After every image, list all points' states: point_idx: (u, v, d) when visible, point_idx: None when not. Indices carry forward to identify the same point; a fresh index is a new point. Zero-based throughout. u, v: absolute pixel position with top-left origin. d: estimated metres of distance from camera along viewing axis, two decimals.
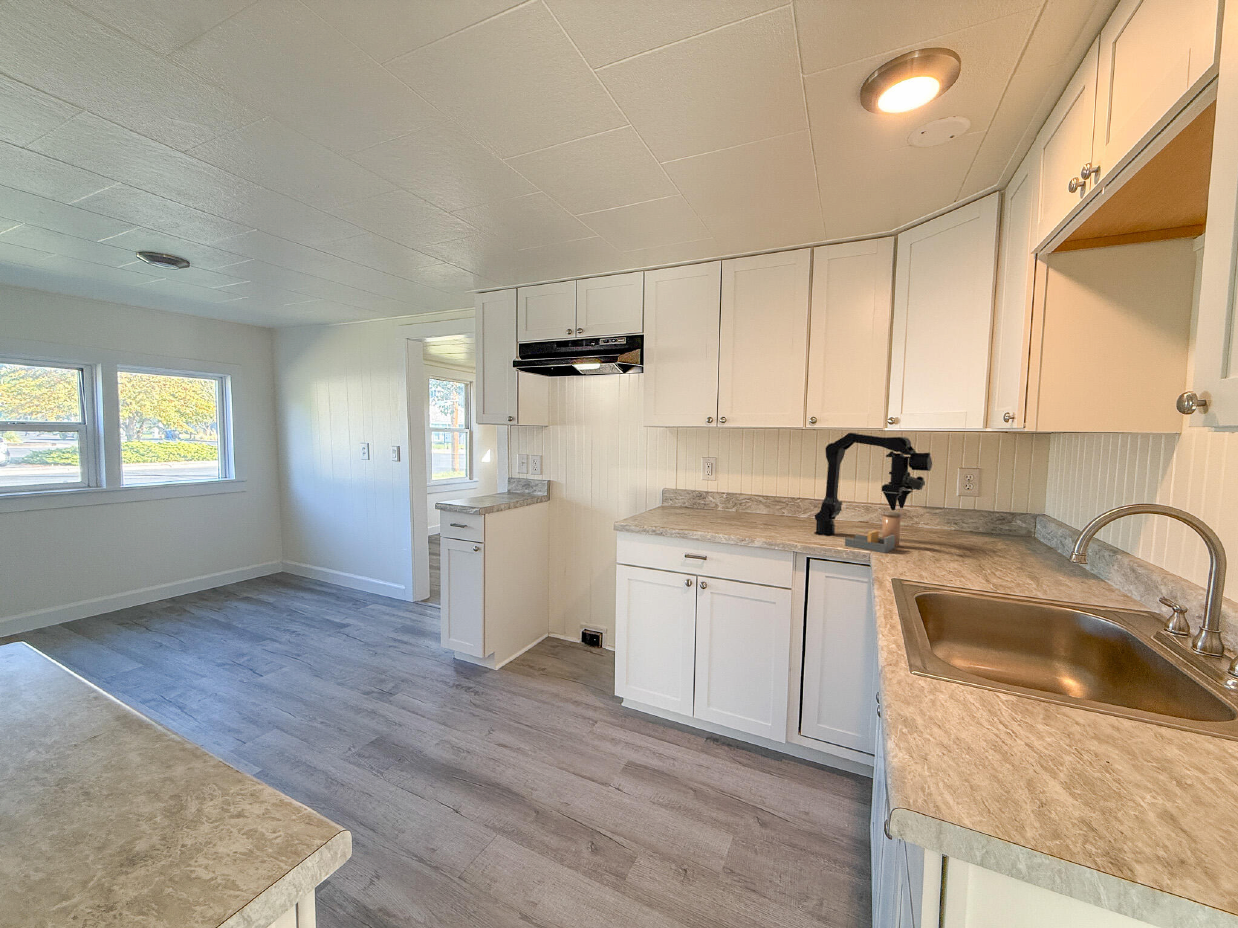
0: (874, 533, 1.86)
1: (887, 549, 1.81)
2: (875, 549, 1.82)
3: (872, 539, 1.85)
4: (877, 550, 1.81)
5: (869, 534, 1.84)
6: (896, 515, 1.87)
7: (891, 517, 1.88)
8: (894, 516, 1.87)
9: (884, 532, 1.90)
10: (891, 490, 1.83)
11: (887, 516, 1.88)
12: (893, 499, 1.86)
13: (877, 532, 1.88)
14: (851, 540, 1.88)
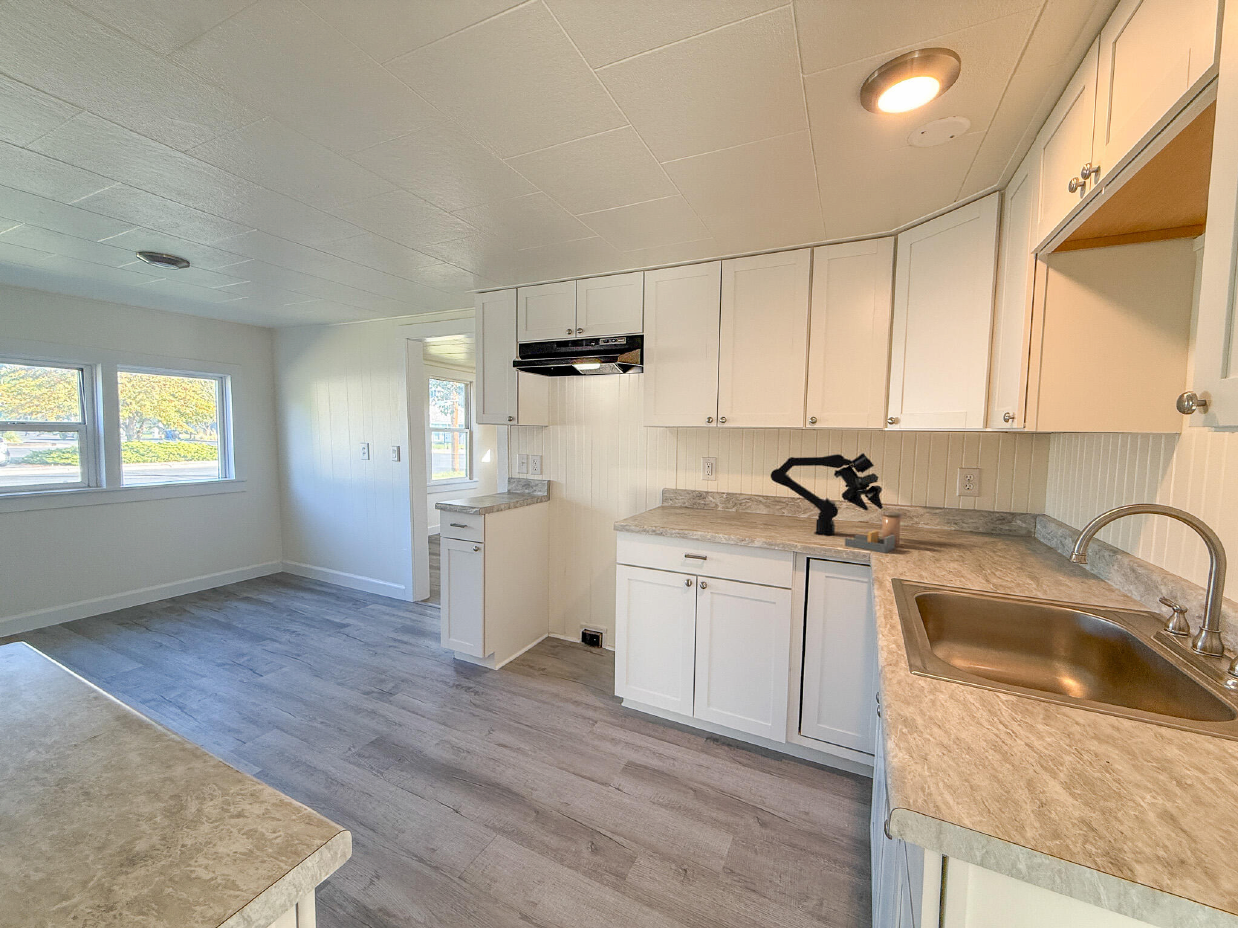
0: (874, 533, 1.86)
1: (887, 549, 1.81)
2: (875, 549, 1.82)
3: (872, 539, 1.85)
4: (877, 550, 1.81)
5: (869, 534, 1.84)
6: (896, 515, 1.87)
7: (891, 517, 1.88)
8: (894, 516, 1.87)
9: (884, 532, 1.90)
10: (848, 493, 1.96)
11: (887, 516, 1.88)
12: (859, 501, 1.96)
13: (877, 532, 1.88)
14: (851, 540, 1.88)
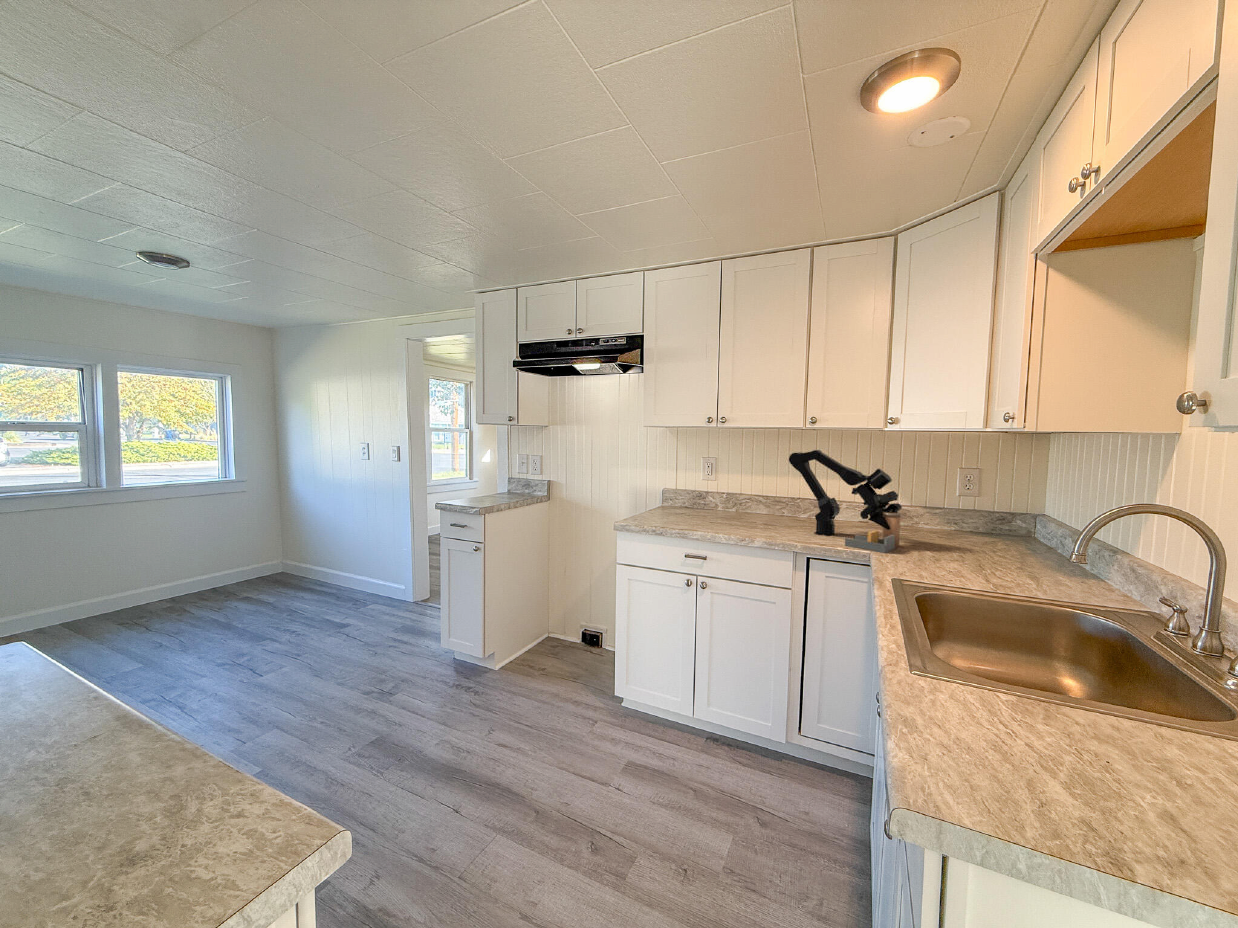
0: (874, 533, 1.86)
1: (887, 549, 1.81)
2: (875, 549, 1.82)
3: (872, 539, 1.85)
4: (877, 550, 1.81)
5: (869, 534, 1.84)
6: (896, 515, 1.87)
7: (891, 517, 1.88)
8: (894, 516, 1.87)
9: (884, 532, 1.90)
10: (867, 512, 1.89)
11: (887, 516, 1.88)
12: (881, 519, 1.89)
13: (877, 532, 1.88)
14: (851, 540, 1.88)
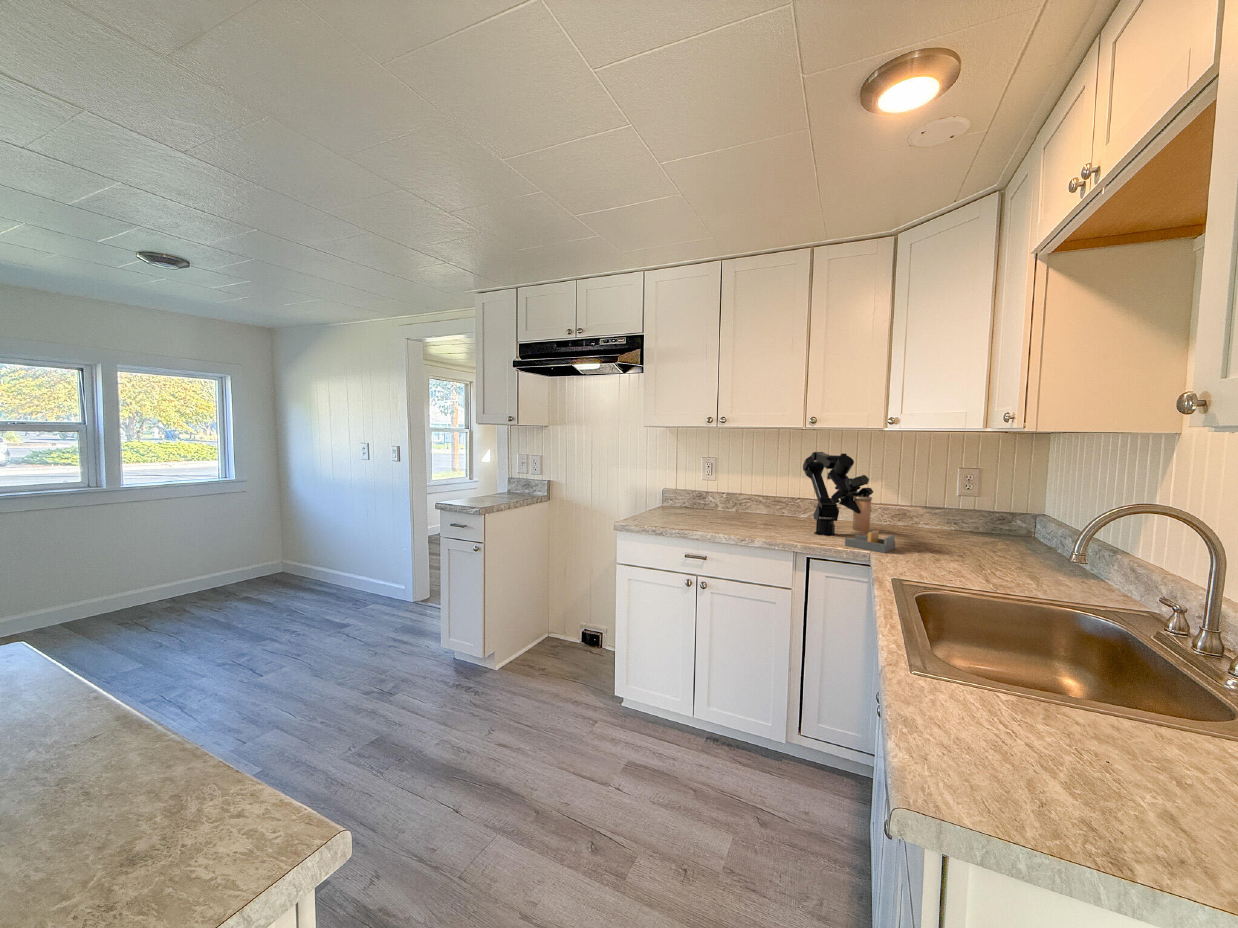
0: (874, 533, 1.86)
1: (887, 549, 1.81)
2: (875, 549, 1.82)
3: (872, 539, 1.85)
4: (877, 550, 1.81)
5: (869, 534, 1.84)
6: (866, 499, 1.86)
7: (862, 501, 1.87)
8: (864, 500, 1.86)
9: (855, 516, 1.89)
10: (837, 496, 1.88)
11: (858, 500, 1.88)
12: (851, 503, 1.89)
13: (877, 532, 1.88)
14: (851, 540, 1.88)
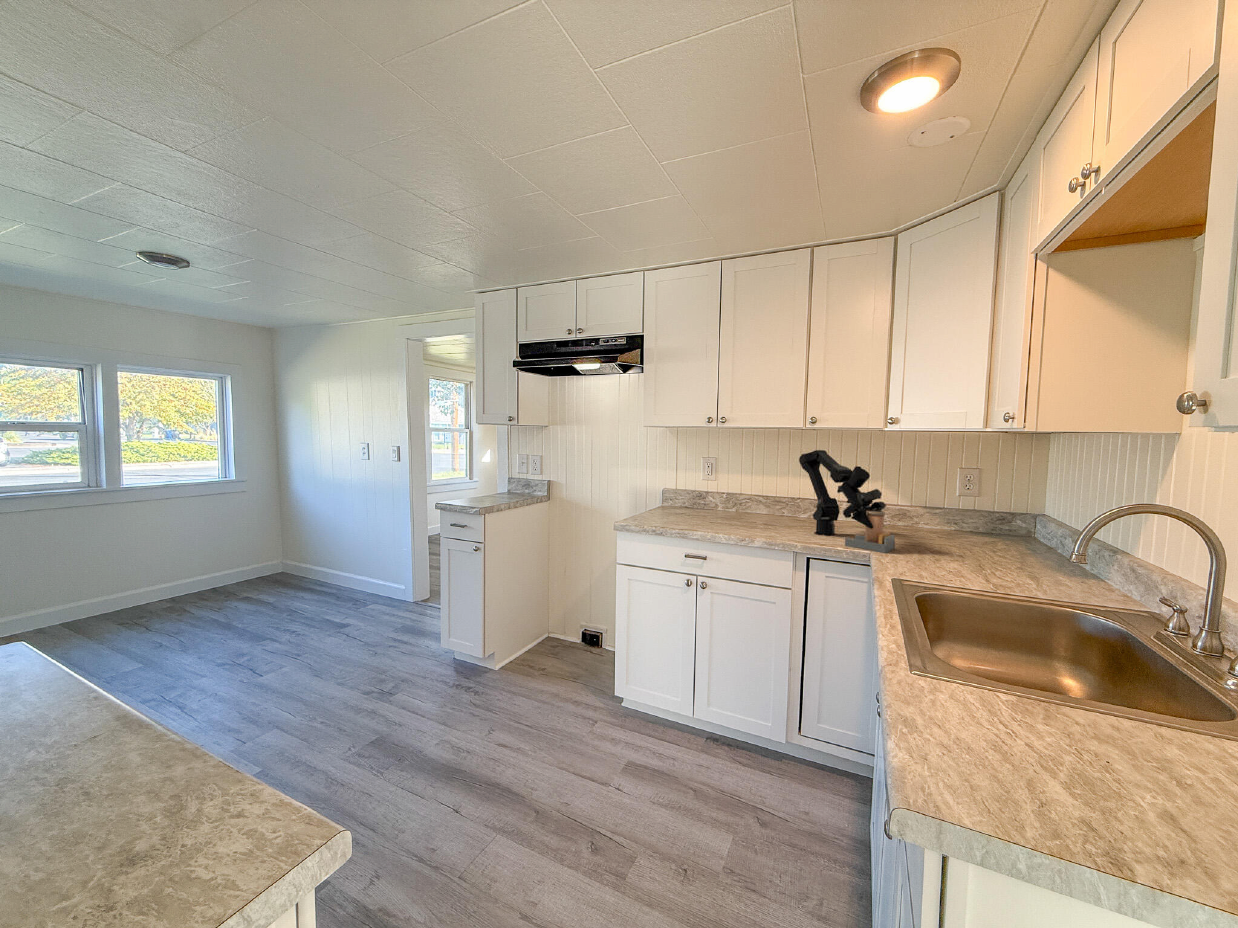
0: (885, 534, 1.83)
1: (887, 549, 1.81)
2: (875, 549, 1.82)
3: (883, 540, 1.82)
4: (877, 550, 1.81)
5: (880, 536, 1.81)
6: (879, 514, 1.83)
7: (874, 516, 1.83)
8: (877, 515, 1.83)
9: (867, 531, 1.86)
10: (850, 510, 1.85)
11: (870, 515, 1.84)
12: (864, 518, 1.85)
13: (888, 534, 1.85)
14: (851, 540, 1.88)
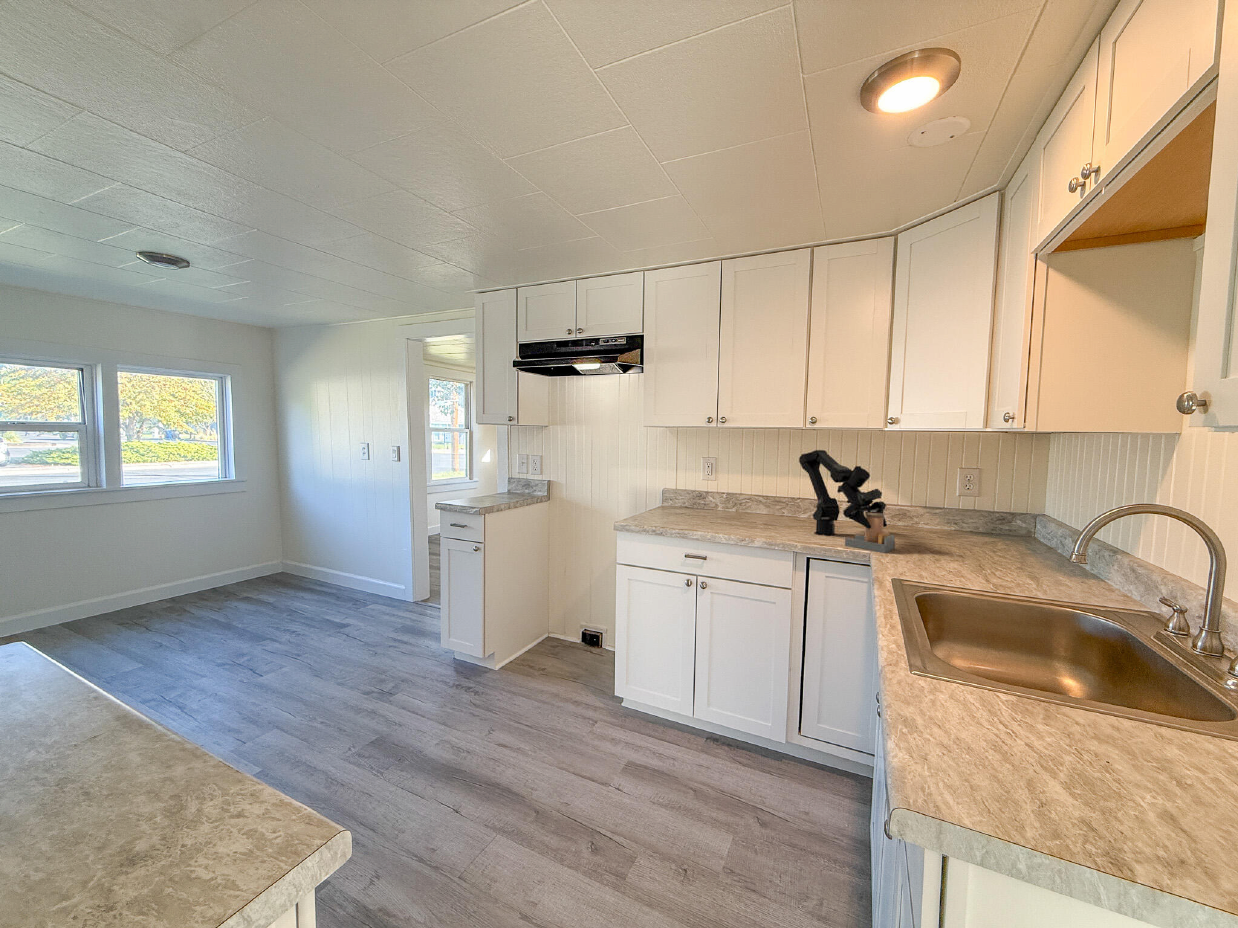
0: (885, 534, 1.83)
1: (887, 549, 1.81)
2: (875, 549, 1.82)
3: (883, 540, 1.82)
4: (877, 550, 1.81)
5: (880, 536, 1.81)
6: (879, 515, 1.83)
7: (874, 518, 1.84)
8: (877, 516, 1.83)
9: (867, 533, 1.86)
10: (850, 510, 1.85)
11: (870, 516, 1.84)
12: (861, 518, 1.85)
13: (888, 534, 1.85)
14: (851, 540, 1.88)
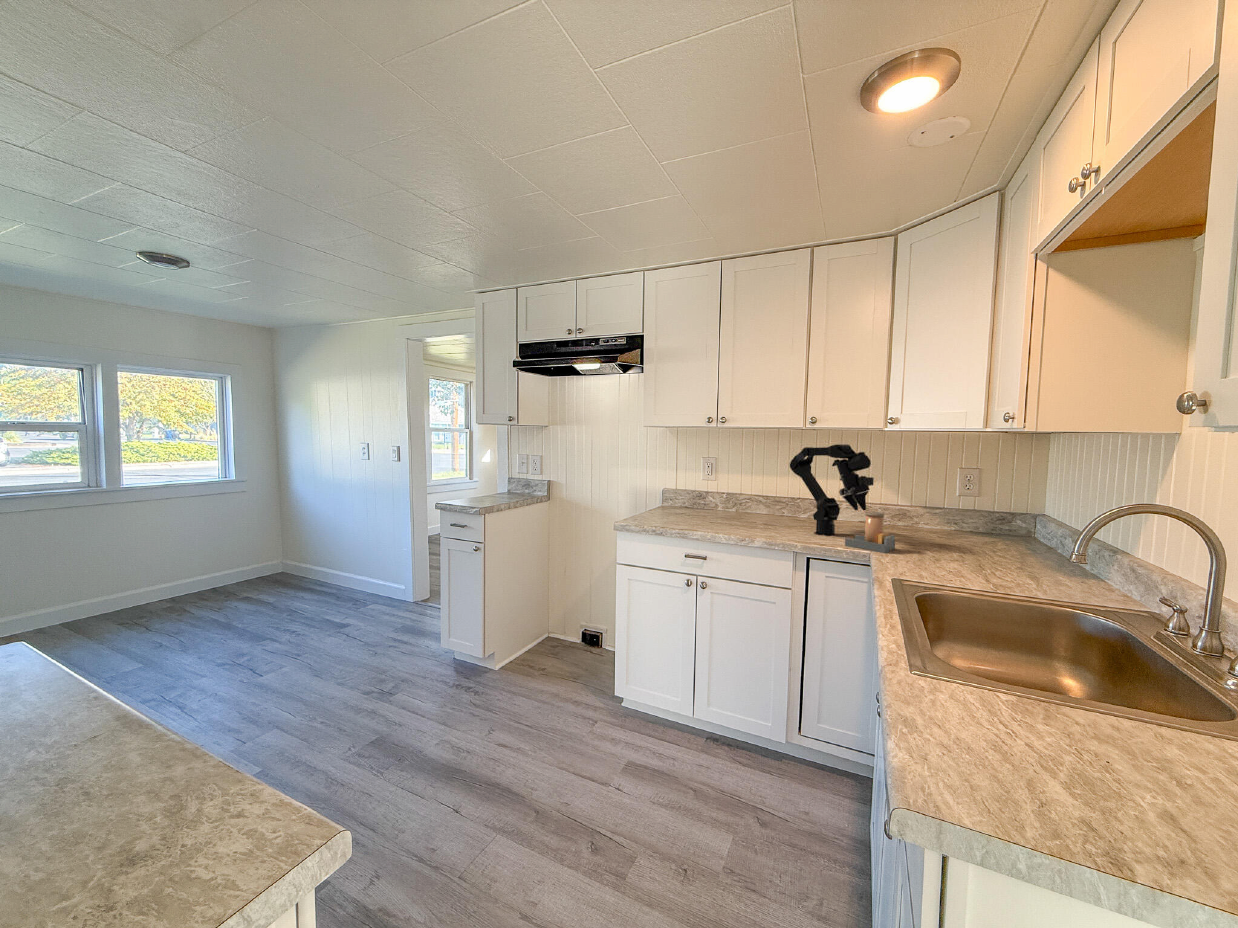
0: (885, 534, 1.83)
1: (887, 549, 1.81)
2: (875, 549, 1.82)
3: (883, 540, 1.82)
4: (877, 550, 1.81)
5: (880, 536, 1.81)
6: (879, 515, 1.83)
7: (874, 518, 1.84)
8: (877, 516, 1.83)
9: (867, 533, 1.86)
10: (863, 489, 1.91)
11: (870, 516, 1.84)
12: (862, 499, 1.94)
13: (888, 534, 1.85)
14: (851, 540, 1.88)
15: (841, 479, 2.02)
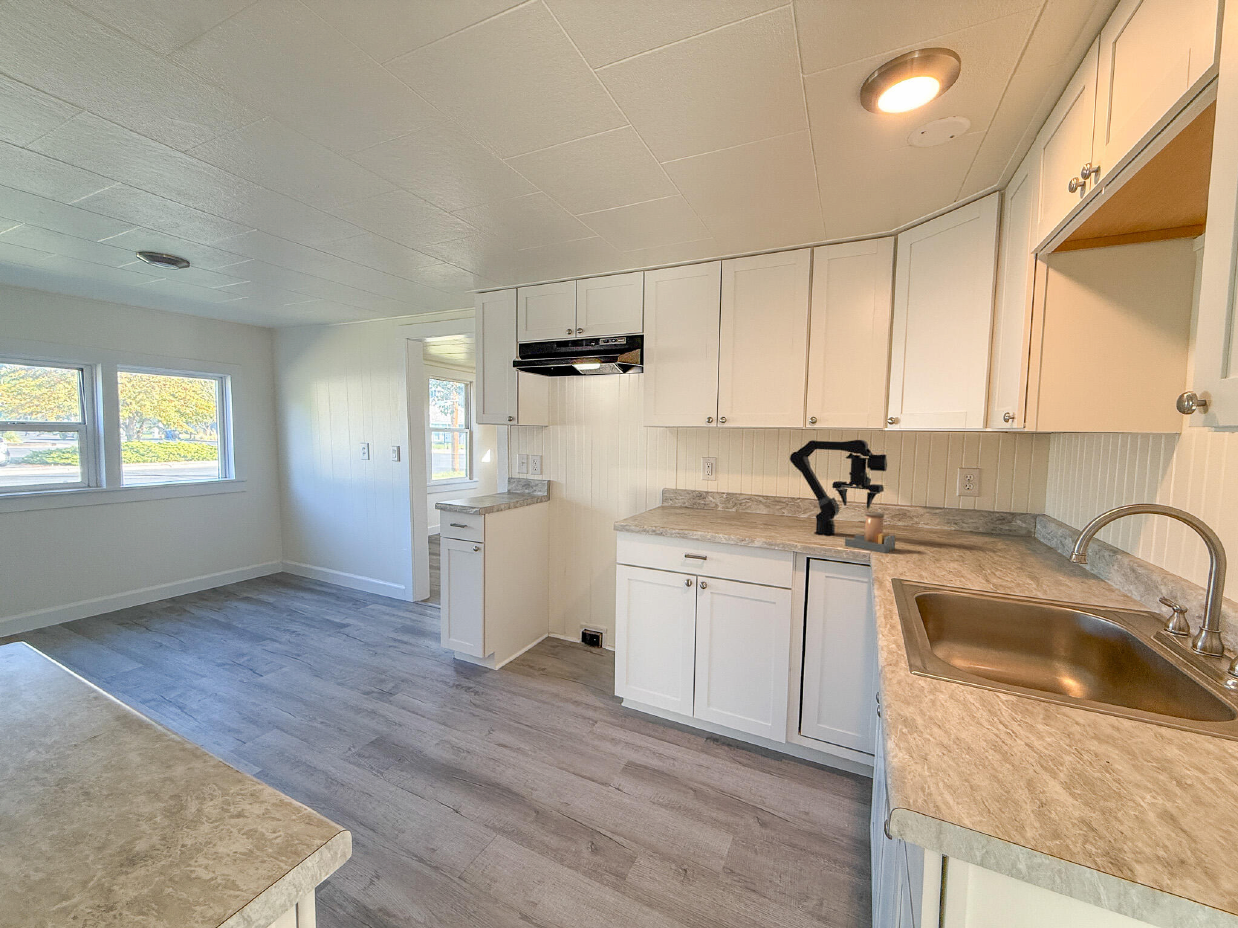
0: (885, 534, 1.83)
1: (887, 549, 1.81)
2: (875, 549, 1.82)
3: (883, 540, 1.82)
4: (877, 550, 1.81)
5: (880, 536, 1.81)
6: (879, 515, 1.83)
7: (874, 518, 1.84)
8: (877, 516, 1.83)
9: (867, 533, 1.86)
10: (881, 490, 1.97)
11: (870, 516, 1.84)
12: (871, 498, 1.99)
13: (888, 534, 1.85)
14: (851, 540, 1.88)
15: (853, 473, 2.01)
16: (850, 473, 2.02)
